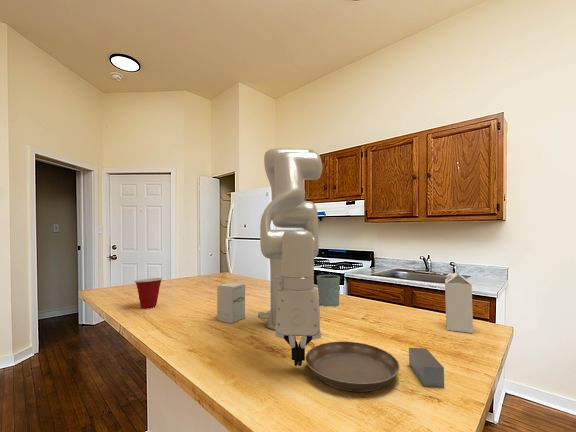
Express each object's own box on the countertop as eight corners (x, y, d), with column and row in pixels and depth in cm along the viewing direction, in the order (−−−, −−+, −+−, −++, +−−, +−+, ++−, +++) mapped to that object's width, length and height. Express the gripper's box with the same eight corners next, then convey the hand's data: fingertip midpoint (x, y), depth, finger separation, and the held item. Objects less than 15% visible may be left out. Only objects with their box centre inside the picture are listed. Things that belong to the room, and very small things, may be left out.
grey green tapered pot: (342, 307, 125) (341, 278, 125) (317, 307, 125) (317, 278, 125) (338, 301, 135) (338, 274, 135) (315, 301, 135) (315, 274, 136)
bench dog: (424, 386, 62) (423, 366, 62) (409, 364, 72) (408, 347, 72) (444, 387, 61) (443, 367, 61) (426, 365, 71) (426, 348, 71)
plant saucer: (421, 389, 61) (421, 372, 61) (327, 406, 55) (327, 388, 55) (367, 350, 81) (367, 337, 81) (294, 359, 75) (294, 346, 75)
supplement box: (231, 323, 103) (232, 286, 104) (216, 320, 107) (216, 284, 108) (245, 318, 110) (245, 283, 110) (230, 315, 114) (230, 281, 114)
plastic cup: (153, 302, 134) (153, 275, 134) (167, 306, 127) (167, 277, 128) (128, 307, 125) (129, 279, 126) (142, 312, 119) (142, 281, 119)
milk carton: (470, 326, 99) (468, 269, 100) (473, 333, 92) (471, 272, 93) (446, 324, 102) (444, 268, 103) (447, 330, 95) (445, 270, 96)
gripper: (263, 285, 67) (263, 369, 66) (330, 287, 65) (331, 372, 65) (269, 280, 74) (269, 355, 74) (329, 281, 73) (330, 357, 72)
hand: (298, 363), depth 69 cm, fingers closed
